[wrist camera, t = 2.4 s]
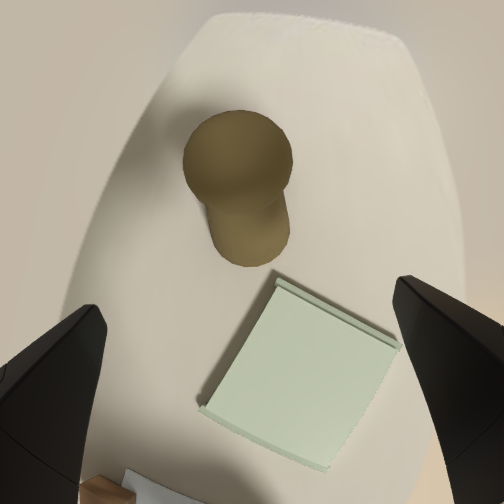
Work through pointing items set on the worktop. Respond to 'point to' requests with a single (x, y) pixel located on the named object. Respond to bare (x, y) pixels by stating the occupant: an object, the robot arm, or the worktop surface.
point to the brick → (104, 492)
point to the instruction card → (152, 491)
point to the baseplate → (302, 378)
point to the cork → (241, 184)
